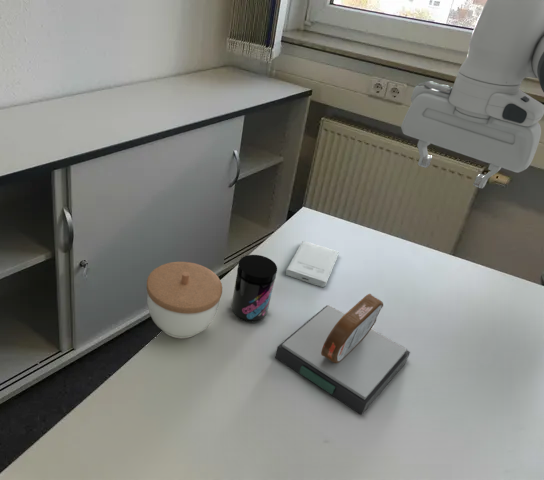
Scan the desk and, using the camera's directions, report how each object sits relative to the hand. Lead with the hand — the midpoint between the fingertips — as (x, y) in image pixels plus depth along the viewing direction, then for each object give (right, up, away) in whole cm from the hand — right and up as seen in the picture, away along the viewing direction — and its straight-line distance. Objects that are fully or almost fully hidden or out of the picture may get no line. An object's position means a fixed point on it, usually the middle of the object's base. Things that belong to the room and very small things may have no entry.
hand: (450, 175), depth 91 cm
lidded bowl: (-46, -26, +3) cm, 53 cm away
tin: (-18, -29, -2) cm, 34 cm away
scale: (-19, -31, -1) cm, 36 cm away
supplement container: (-33, -24, +8) cm, 42 cm away
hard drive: (-18, -16, +22) cm, 33 cm away
